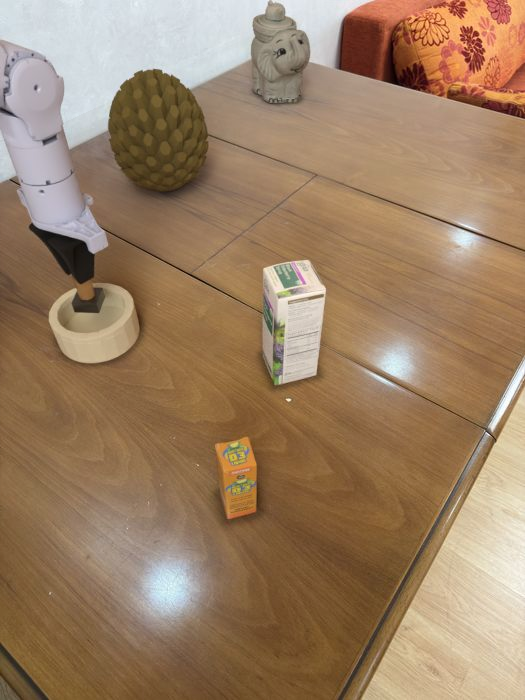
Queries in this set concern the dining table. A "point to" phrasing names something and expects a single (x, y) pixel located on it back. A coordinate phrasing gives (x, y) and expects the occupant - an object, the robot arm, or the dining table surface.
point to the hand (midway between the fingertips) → (79, 275)
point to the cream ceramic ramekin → (96, 326)
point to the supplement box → (237, 477)
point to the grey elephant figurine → (278, 55)
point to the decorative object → (157, 131)
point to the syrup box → (292, 320)
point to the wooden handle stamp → (87, 298)
